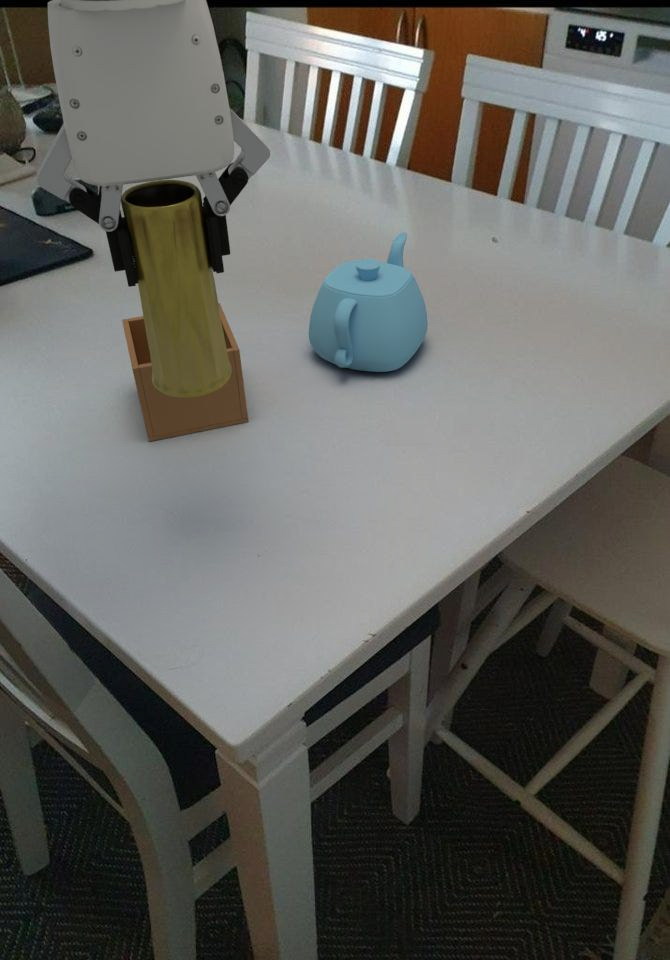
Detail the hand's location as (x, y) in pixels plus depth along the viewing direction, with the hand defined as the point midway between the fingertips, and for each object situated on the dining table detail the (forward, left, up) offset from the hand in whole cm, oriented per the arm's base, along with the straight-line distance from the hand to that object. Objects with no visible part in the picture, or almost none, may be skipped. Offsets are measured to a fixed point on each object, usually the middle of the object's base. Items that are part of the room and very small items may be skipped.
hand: (173, 269), depth 57 cm
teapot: (+23, +23, -24) cm, 40 cm away
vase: (0, 0, -9) cm, 9 cm away
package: (+1, +18, -23) cm, 30 cm away
